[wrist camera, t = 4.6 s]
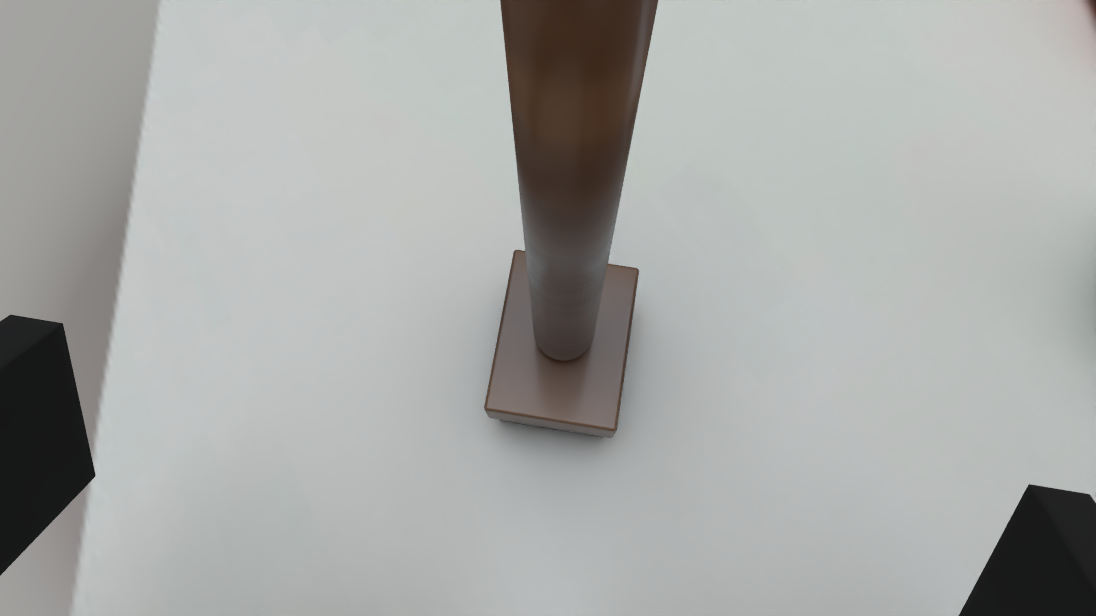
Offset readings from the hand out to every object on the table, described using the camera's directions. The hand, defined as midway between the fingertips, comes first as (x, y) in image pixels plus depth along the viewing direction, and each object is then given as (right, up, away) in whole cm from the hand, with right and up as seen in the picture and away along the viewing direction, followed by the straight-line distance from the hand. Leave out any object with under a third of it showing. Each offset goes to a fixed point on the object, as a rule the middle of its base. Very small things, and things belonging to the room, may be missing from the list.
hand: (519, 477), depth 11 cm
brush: (+1, +1, +16) cm, 16 cm away
